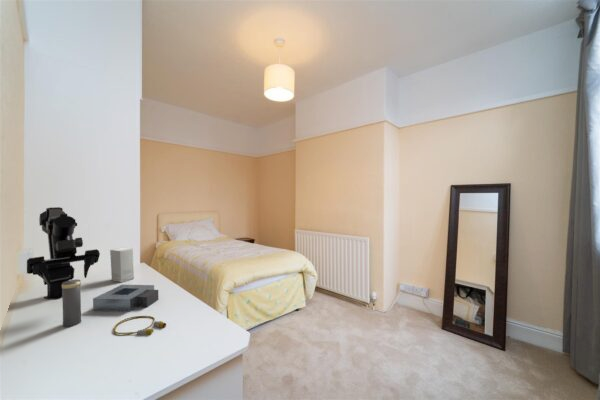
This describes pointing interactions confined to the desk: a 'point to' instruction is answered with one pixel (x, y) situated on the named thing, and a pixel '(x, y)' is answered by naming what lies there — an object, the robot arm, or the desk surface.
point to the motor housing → (126, 298)
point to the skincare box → (122, 264)
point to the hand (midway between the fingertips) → (68, 280)
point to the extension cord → (143, 331)
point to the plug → (71, 302)
